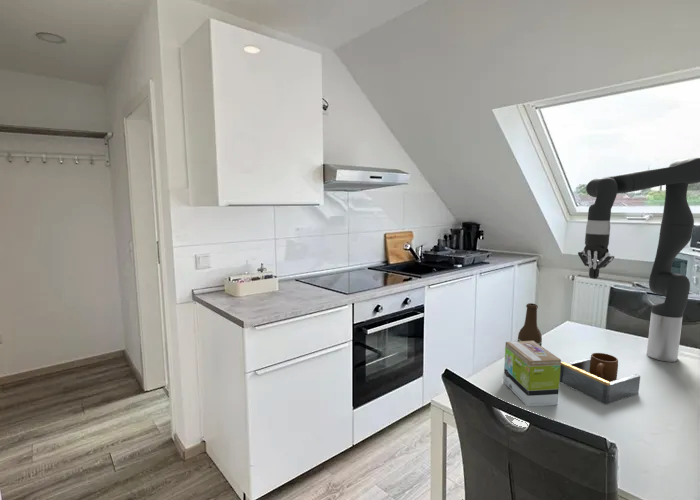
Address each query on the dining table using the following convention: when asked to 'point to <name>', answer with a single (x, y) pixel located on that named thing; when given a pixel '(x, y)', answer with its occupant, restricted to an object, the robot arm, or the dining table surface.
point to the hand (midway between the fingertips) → (593, 278)
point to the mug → (604, 366)
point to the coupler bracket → (597, 382)
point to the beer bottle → (530, 326)
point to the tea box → (532, 373)
